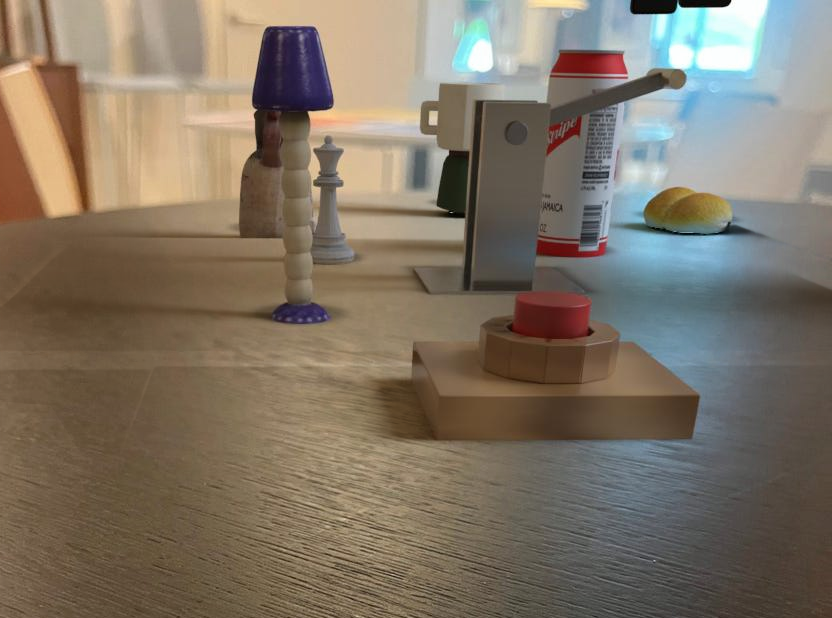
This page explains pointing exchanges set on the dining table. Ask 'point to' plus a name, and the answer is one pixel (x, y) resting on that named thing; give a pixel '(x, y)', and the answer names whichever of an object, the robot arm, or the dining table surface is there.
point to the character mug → (455, 135)
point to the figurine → (264, 183)
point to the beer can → (581, 157)
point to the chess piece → (329, 210)
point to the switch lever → (619, 94)
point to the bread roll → (688, 211)
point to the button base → (549, 388)
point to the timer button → (551, 315)
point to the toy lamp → (294, 150)
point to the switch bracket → (502, 205)
